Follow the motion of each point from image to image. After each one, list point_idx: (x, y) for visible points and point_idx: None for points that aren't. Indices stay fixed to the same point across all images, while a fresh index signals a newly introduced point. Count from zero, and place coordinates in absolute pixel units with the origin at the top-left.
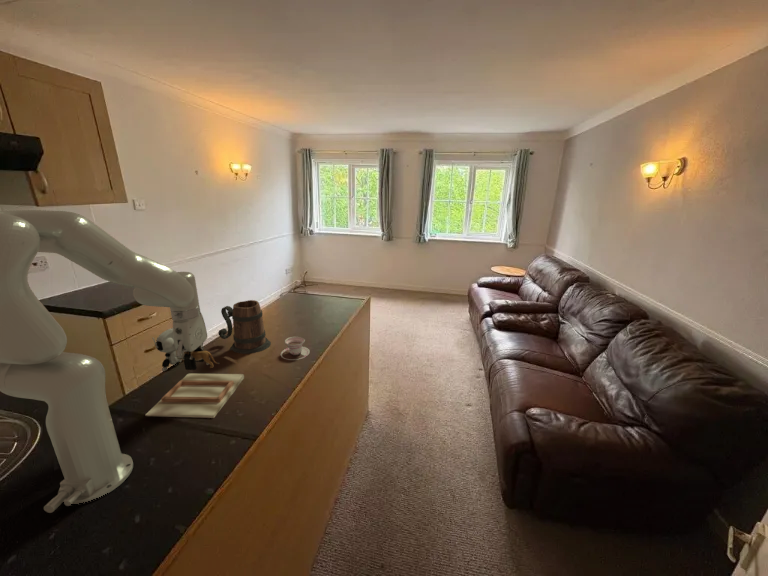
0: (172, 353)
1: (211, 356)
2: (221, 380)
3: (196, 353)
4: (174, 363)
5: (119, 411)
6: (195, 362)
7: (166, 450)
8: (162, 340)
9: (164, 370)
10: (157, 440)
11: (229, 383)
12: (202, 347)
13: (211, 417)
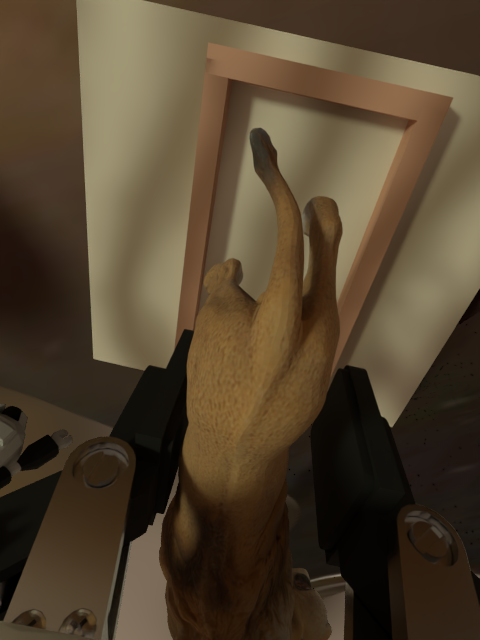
0: None
1: (301, 260)
2: (163, 164)
3: (256, 494)
4: (22, 423)
5: (305, 481)
6: (364, 423)
7: None
8: None
9: (68, 436)
10: None
11: (244, 70)
12: (89, 471)
13: None
